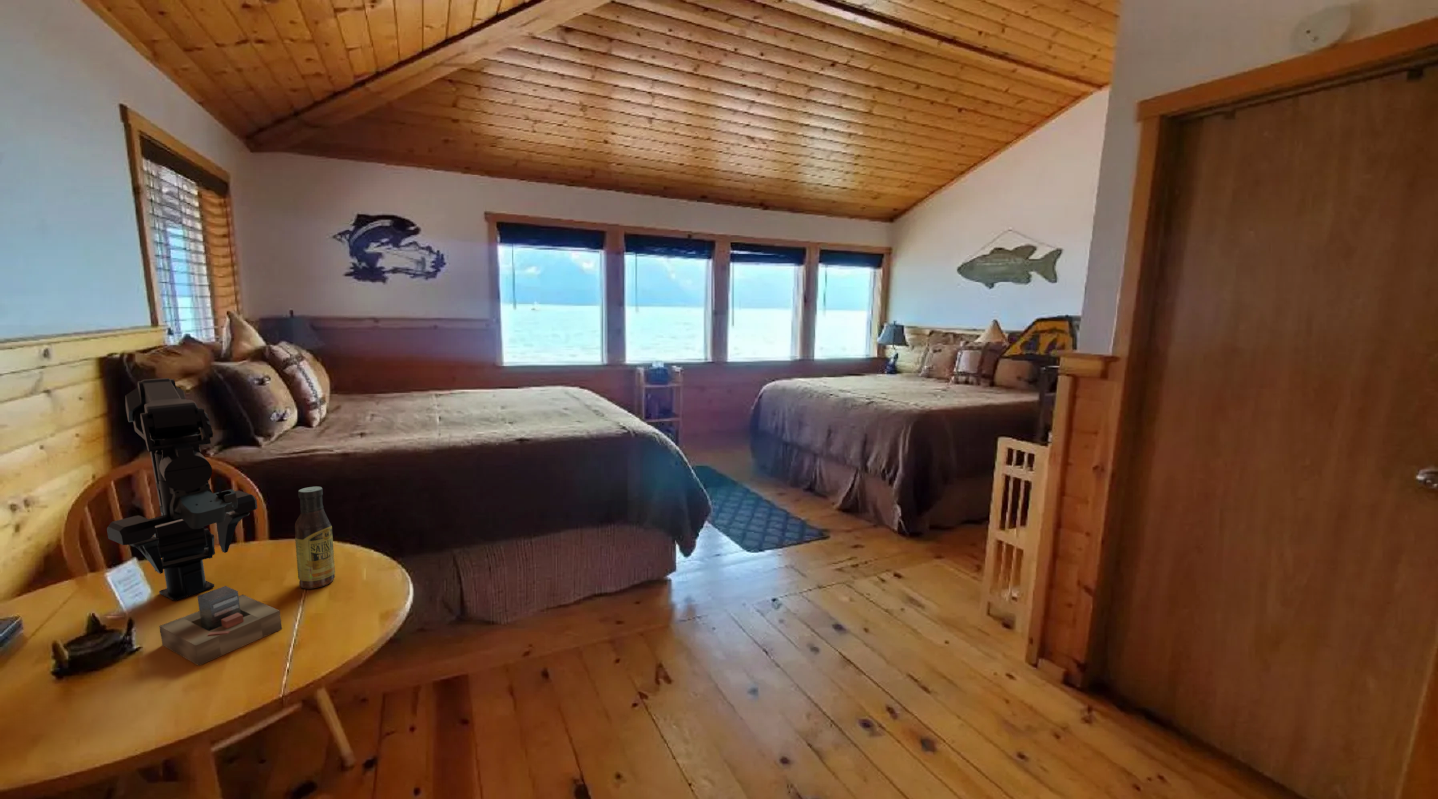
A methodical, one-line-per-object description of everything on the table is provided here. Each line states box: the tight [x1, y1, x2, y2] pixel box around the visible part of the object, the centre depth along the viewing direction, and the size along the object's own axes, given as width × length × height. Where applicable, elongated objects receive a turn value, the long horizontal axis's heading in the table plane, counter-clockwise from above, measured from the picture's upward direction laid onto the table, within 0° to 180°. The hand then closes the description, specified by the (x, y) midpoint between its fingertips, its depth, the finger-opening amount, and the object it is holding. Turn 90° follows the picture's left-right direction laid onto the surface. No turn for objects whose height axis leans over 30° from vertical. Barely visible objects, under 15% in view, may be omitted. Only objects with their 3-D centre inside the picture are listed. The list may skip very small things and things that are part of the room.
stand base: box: [159, 594, 283, 666], centre depth 101 cm, size 13×12×5 cm
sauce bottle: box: [294, 486, 336, 590], centre depth 120 cm, size 7×6×20 cm
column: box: [196, 585, 241, 631], centre depth 101 cm, size 5×4×8 cm
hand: (193, 562), depth 104 cm, fingers open, 9 cm apart
